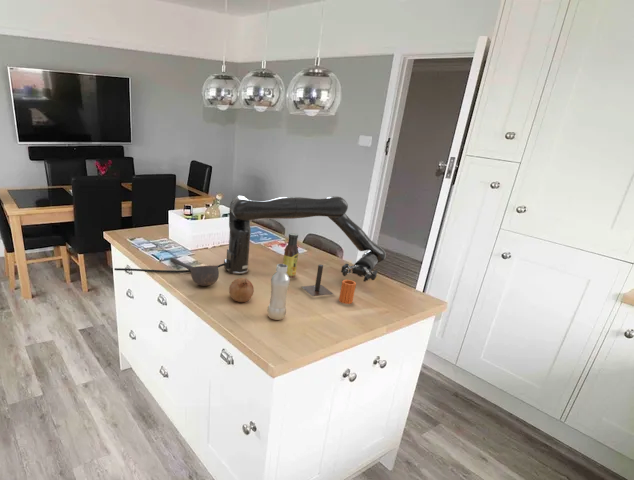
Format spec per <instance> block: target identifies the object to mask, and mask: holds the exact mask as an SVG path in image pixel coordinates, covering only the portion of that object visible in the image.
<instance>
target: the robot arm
mask: <svg viewBox="0 0 634 480" xmlns="http://www.w3.org/2000/svg"><path fill="white" fill-rule="evenodd" d="M348 209H349V204H348V202H347V200H346V199H345V198H343V197H341V196H337V195H336V196H335V195H334V196H332V195H331V196H327V197H326V198H325V197H324V198H311V197H304V196H303V197H302V196H282V197H277V198H273V199H270V200H251V199H248V198H247V197H246V196H243V195H238V196H235V197H234V198H233V199H232V200H231V201H230V204H229V211H228V213H229V214H228V221H229V222H228V227H229V235H228V236H229V237H228V248H227V249H226V258H225V259H224V260H223V263H221V264H218V269H219V268H221V267H224V269H225V270H226V271H227V272H228V273H229V275H230V274H232V275H233V274H234V275H244V274H247V273H248V272H249V259H250V258H249V257H250V244H251V231H252V227H251V221H253V220H260V219H261V220H262V219H270V220H271V219H273V220H274V219H275V220H277V219H279V220H289V219H291V220H294V219H305V218H312V217H327V218H328V219H329V220H331V221H332V222H333V223H334V224H335V225H336V226H337V227H338V229H340V230H341V231H342V232H343V233H344V235H346V237H347V238H348V239H349V240H350V241H351V243H352V244H353V245H354V247H355V248H356V249H357V250H358V251H359V252H364V253H363V254H362V255H361V257H360V258H359V259H358V260H356V262H355V263H354V265H349V263H344V264H343V265H342V266H341V270H340V273H342V276H343V277H347V275H356V276H358V277H359V278H363V282H367V281H369V280H370V279H371V280H372V281H374V280H376V278H377V276H378V270H377V269H375V267H376V266H377V265H378V264H379V263H381V262H382V261H385V259H386V257H387V253H386V250H385V249H383V248H382V247H381V246H380V245H379V244H377V243H375V242H374V241H373V240H372V239H370V238H369V236H368V235H367V234H366V232H365V231H364V230H363V229H362V228H361V226H359V225H358V224H356V223H355V222H354V221H353V220H352V219H351V218H350V217H349V216H348V214H347V211H348ZM365 251H366V252H365ZM114 271H123V272H125V271H127V272H129V271H130V272H148V273H191V271H190V270H188V269H179V270H178V269H176V270H175V269H173V270H171V269H166V270H165V269H147V268H145V269H144V268H125V267H124V268H122V267H118V268H117V267H115V268H114Z"/></svg>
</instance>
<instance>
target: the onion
mask: <svg viewBox="0 0 634 480" xmlns="http://www.w3.org/2000/svg"><path fill="white" fill-rule="evenodd" d="M228 292H229V296H230V297H231V299H232V300H233V301H235V302H238V303H245V302H248V301H249V300H250V299H252V297H253V295H254V292H255V288H254V285H253V283H252V281H250V280H249V279H248V278H245V277H238V278H235V279H234V280H233V281H232V282H231V283H230V285H229V288H228Z"/></svg>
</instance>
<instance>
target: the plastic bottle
mask: <svg viewBox="0 0 634 480" xmlns="http://www.w3.org/2000/svg"><path fill="white" fill-rule="evenodd" d="M286 272H287V265H285V264H283V263H277V264H276V268H275V272H274V274H273V275H272V276H271V278H270V298H269V304H268V306H267V310H266V314H267V316H268V318H269V319H271V320H275V321H280V320H283V319H284V318H285V317H286V313H287V296H288V290H289V286H290V284H291V278H289V276H288V274H287V273H286Z"/></svg>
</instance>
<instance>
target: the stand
mask: <svg viewBox="0 0 634 480" xmlns="http://www.w3.org/2000/svg"><path fill="white" fill-rule="evenodd" d="M323 270H324V265H323V264H318V265H317V272H316V277H315V284H314V285H304V286H301V289H303V290H304V291H305V292H307V293H308V294H309V295H310V296H312V297H318V296H329V295H334V293H333V292H332V291H330V290H329V289H328V288H326V287H325V286H324V285H322V284H321V282H322V278H323V277H322V276H323V272H324V271H323Z"/></svg>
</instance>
